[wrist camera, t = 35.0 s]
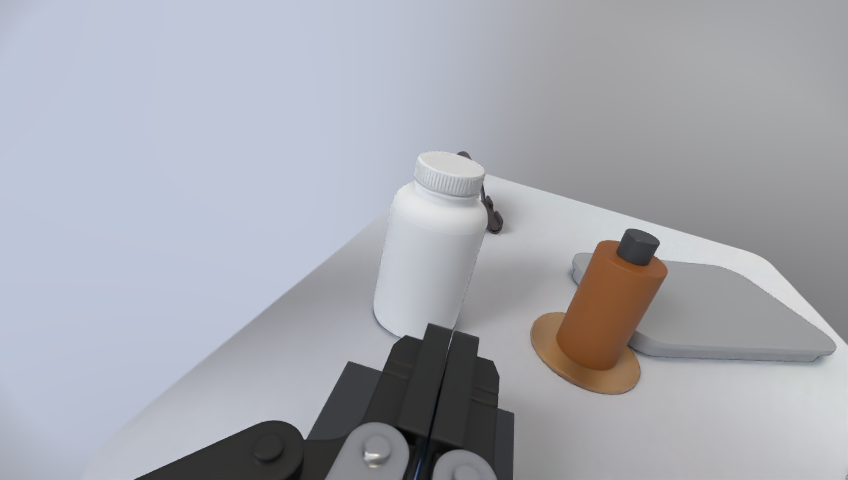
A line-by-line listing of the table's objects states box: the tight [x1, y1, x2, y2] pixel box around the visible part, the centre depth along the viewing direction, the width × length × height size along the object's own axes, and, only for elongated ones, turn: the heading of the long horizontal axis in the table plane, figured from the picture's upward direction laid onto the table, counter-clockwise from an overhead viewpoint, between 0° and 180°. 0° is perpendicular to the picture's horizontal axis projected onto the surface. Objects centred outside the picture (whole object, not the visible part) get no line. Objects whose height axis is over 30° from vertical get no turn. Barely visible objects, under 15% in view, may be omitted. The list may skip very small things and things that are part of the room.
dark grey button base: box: [306, 361, 514, 480], centre depth 22 cm, size 11×10×6 cm
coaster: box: [531, 312, 640, 394], centre depth 38 cm, size 10×10×1 cm
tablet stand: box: [457, 152, 503, 234], centre depth 58 cm, size 9×8×8 cm
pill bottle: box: [373, 151, 488, 340], centre depth 35 cm, size 8×8×15 cm
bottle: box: [556, 229, 668, 371], centre depth 35 cm, size 6×6×12 cm
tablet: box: [572, 253, 837, 362], centre depth 48 cm, size 16×26×2 cm, turn 99°
